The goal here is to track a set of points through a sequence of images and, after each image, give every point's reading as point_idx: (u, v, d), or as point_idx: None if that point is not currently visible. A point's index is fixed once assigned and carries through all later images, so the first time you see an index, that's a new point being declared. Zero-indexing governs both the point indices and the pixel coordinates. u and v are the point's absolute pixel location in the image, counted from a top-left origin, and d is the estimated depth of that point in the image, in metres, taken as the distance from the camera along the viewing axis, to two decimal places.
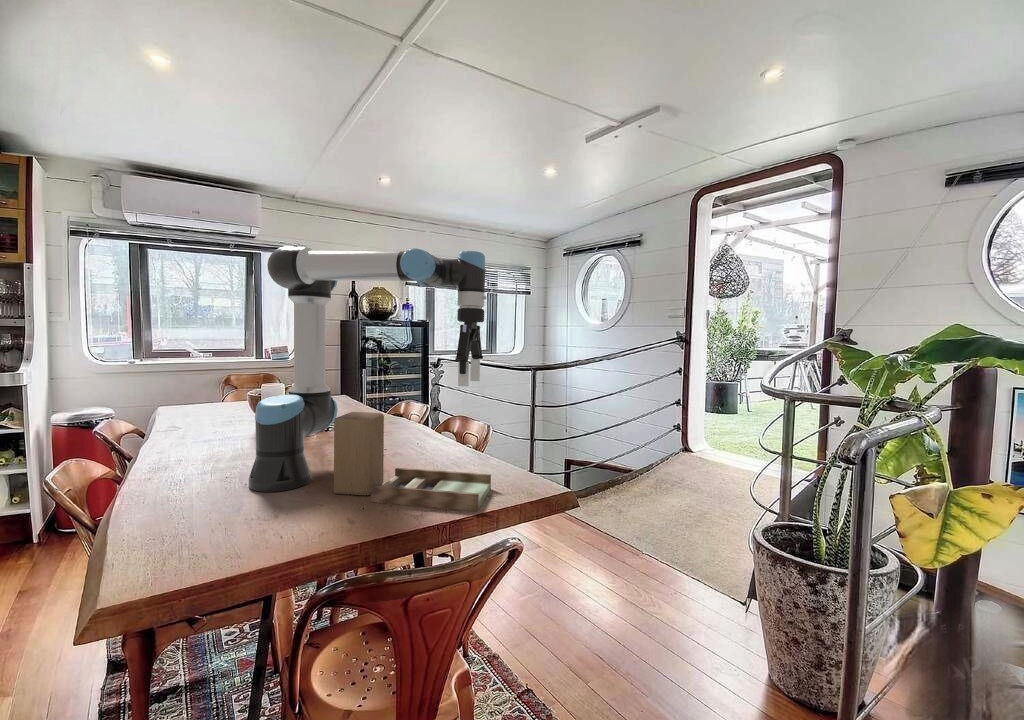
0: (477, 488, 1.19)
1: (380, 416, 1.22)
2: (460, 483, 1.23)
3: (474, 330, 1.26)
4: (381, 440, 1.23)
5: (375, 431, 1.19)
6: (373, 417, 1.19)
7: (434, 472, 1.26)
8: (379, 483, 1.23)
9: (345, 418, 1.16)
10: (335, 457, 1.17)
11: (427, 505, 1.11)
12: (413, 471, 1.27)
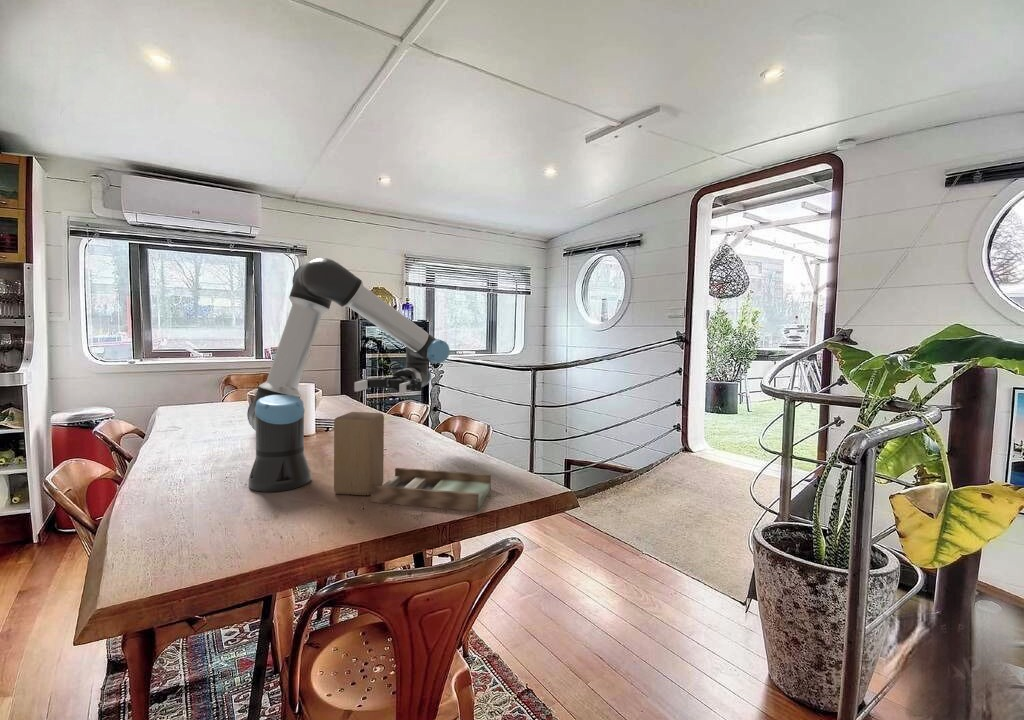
0: (477, 488, 1.19)
1: (380, 416, 1.22)
2: (460, 483, 1.23)
3: None
4: (381, 440, 1.23)
5: (375, 431, 1.19)
6: (373, 417, 1.19)
7: (434, 472, 1.26)
8: (379, 483, 1.23)
9: (345, 418, 1.16)
10: (335, 457, 1.17)
11: (427, 505, 1.11)
12: (413, 471, 1.27)
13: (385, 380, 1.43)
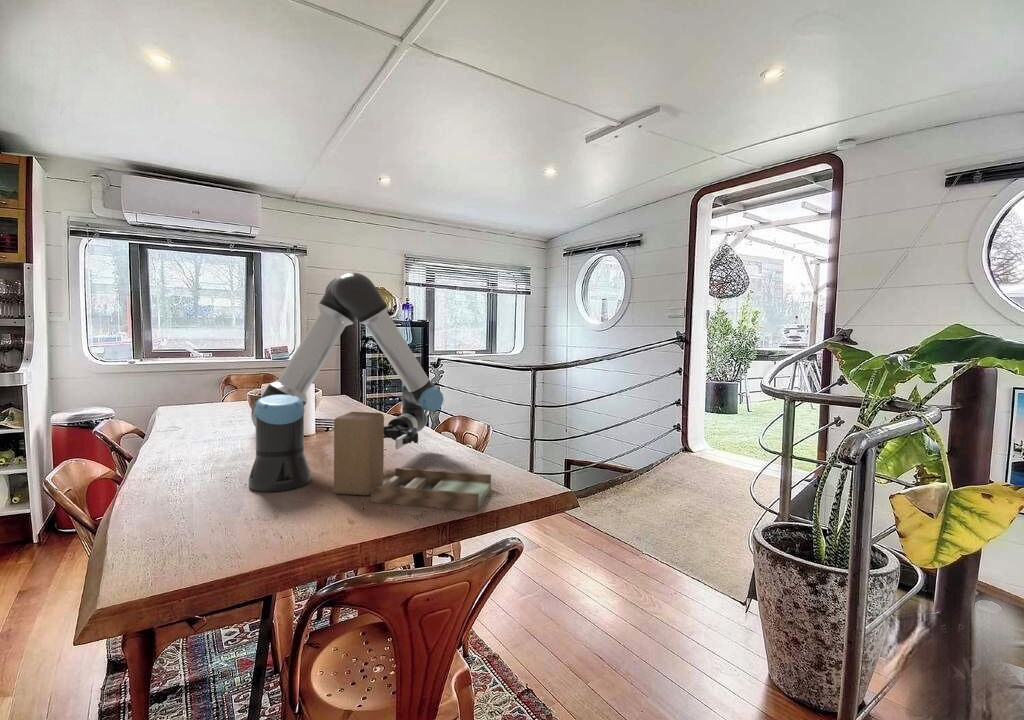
0: (477, 488, 1.19)
1: (380, 416, 1.22)
2: (460, 483, 1.23)
3: None
4: (381, 440, 1.23)
5: (375, 431, 1.19)
6: (373, 417, 1.19)
7: (434, 472, 1.26)
8: (379, 483, 1.23)
9: (345, 418, 1.16)
10: (335, 457, 1.17)
11: (427, 505, 1.11)
12: (413, 471, 1.27)
13: None
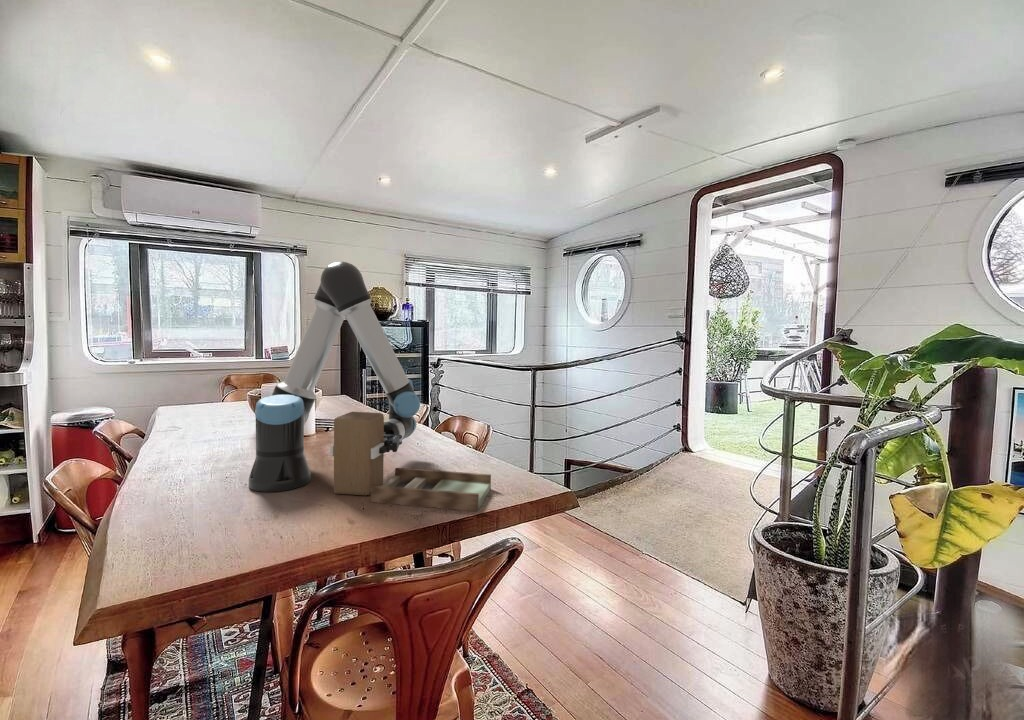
0: (477, 488, 1.19)
1: (380, 416, 1.22)
2: (460, 483, 1.23)
3: None
4: (380, 440, 1.23)
5: (375, 431, 1.19)
6: (373, 417, 1.19)
7: (434, 472, 1.26)
8: (379, 483, 1.23)
9: (345, 418, 1.16)
10: (335, 457, 1.17)
11: (427, 505, 1.11)
12: (413, 471, 1.27)
13: None
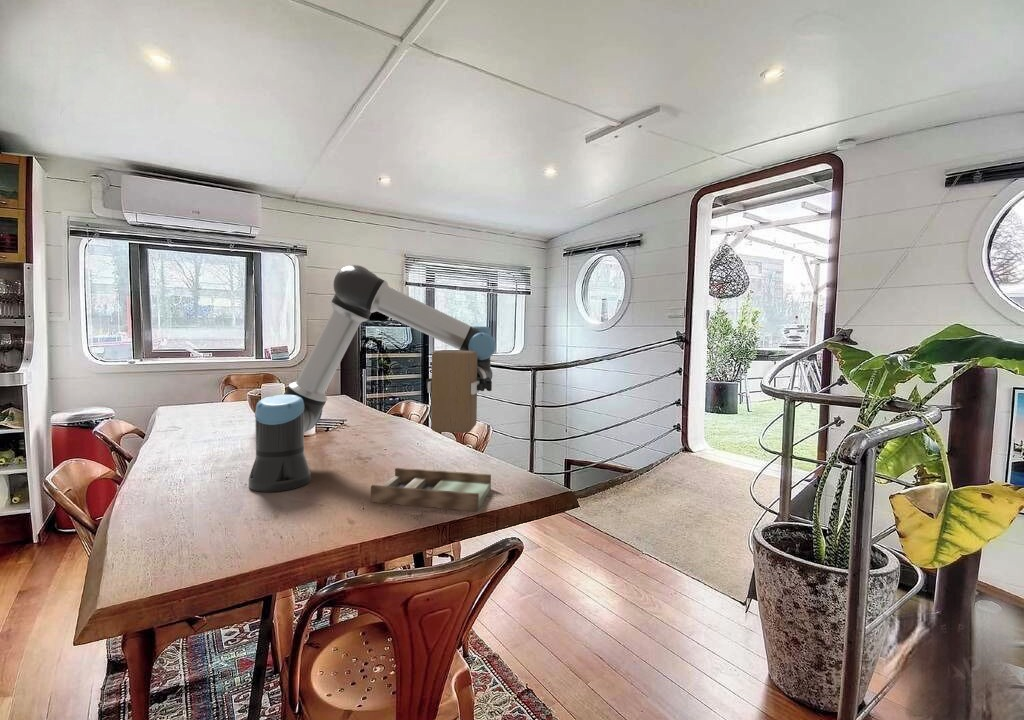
0: (477, 488, 1.19)
1: (475, 353, 1.18)
2: (460, 483, 1.23)
3: None
4: (475, 378, 1.18)
5: (473, 367, 1.14)
6: (471, 352, 1.14)
7: (434, 472, 1.26)
8: (474, 422, 1.18)
9: (444, 352, 1.12)
10: (433, 393, 1.13)
11: (427, 505, 1.11)
12: (413, 471, 1.27)
13: None
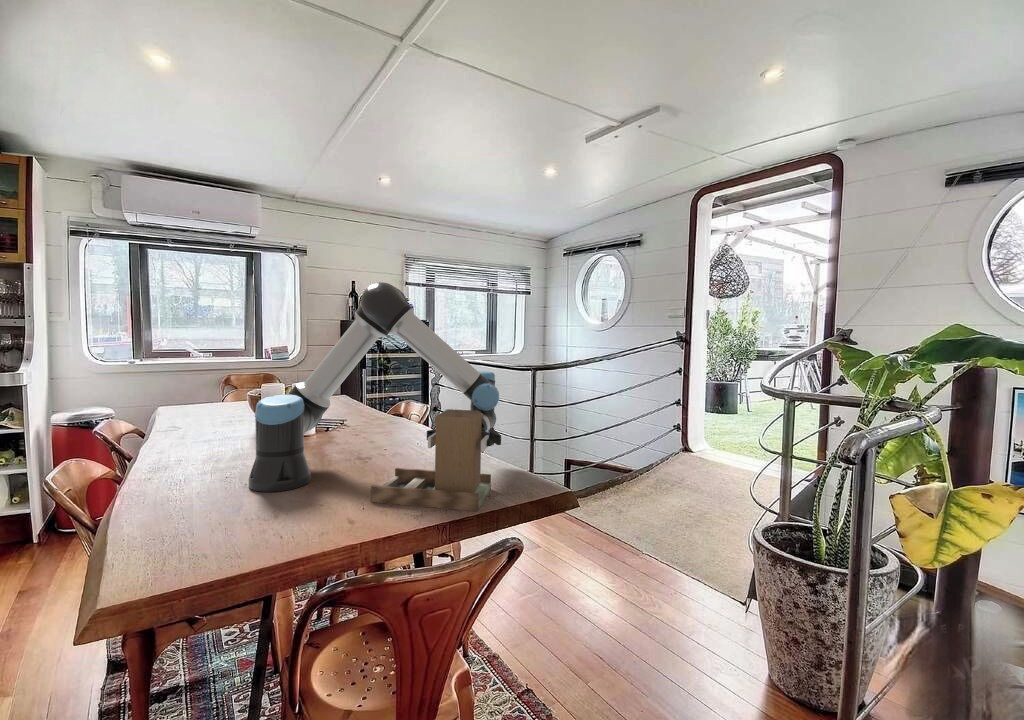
0: (477, 488, 1.19)
1: (479, 414, 1.18)
2: None
3: None
4: (479, 439, 1.19)
5: (477, 429, 1.14)
6: (475, 415, 1.14)
7: (434, 472, 1.26)
8: (478, 483, 1.18)
9: (447, 416, 1.12)
10: (437, 456, 1.13)
11: (427, 505, 1.11)
12: (413, 471, 1.27)
13: None
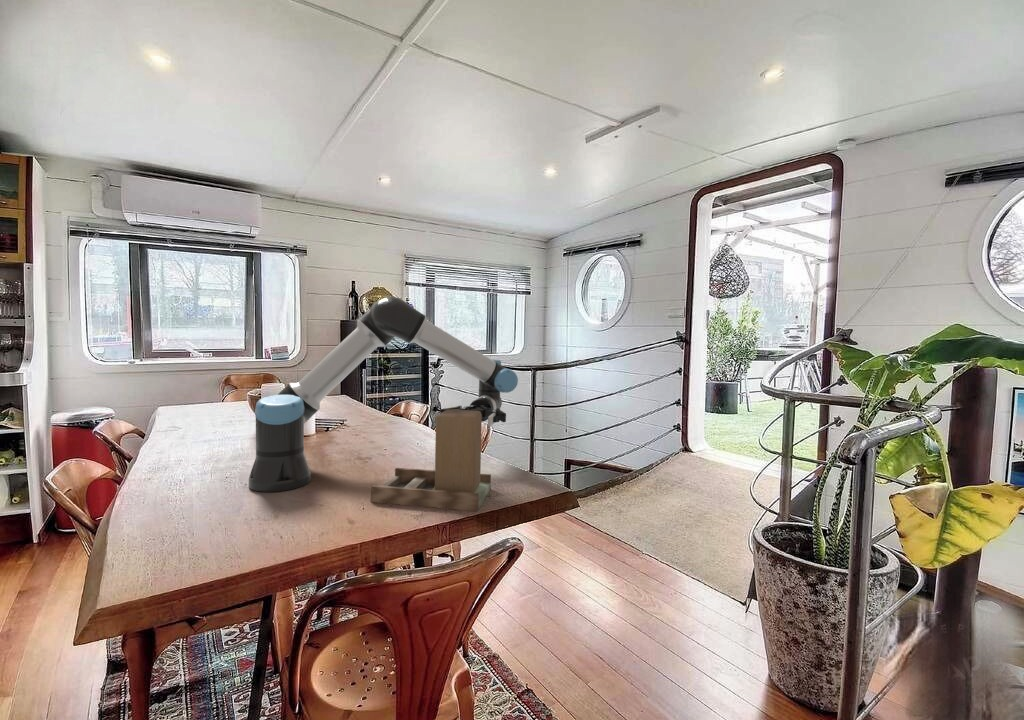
0: (477, 488, 1.19)
1: (479, 414, 1.18)
2: None
3: None
4: (479, 439, 1.19)
5: (477, 429, 1.14)
6: (475, 415, 1.14)
7: (434, 472, 1.26)
8: (478, 483, 1.18)
9: (447, 416, 1.12)
10: (437, 456, 1.13)
11: (427, 505, 1.11)
12: (413, 471, 1.27)
13: None
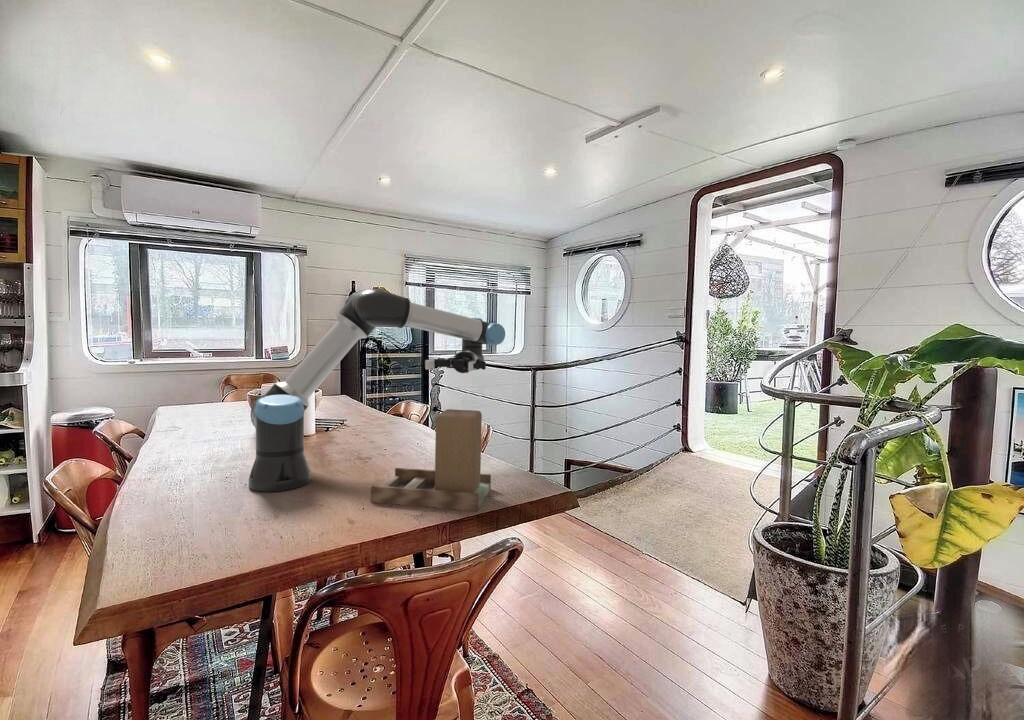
0: (477, 488, 1.19)
1: (479, 414, 1.18)
2: None
3: None
4: (479, 439, 1.19)
5: (477, 429, 1.14)
6: (475, 415, 1.14)
7: (434, 472, 1.26)
8: (478, 483, 1.18)
9: (447, 416, 1.12)
10: (437, 456, 1.13)
11: (427, 505, 1.11)
12: (413, 471, 1.27)
13: (449, 360, 1.52)
